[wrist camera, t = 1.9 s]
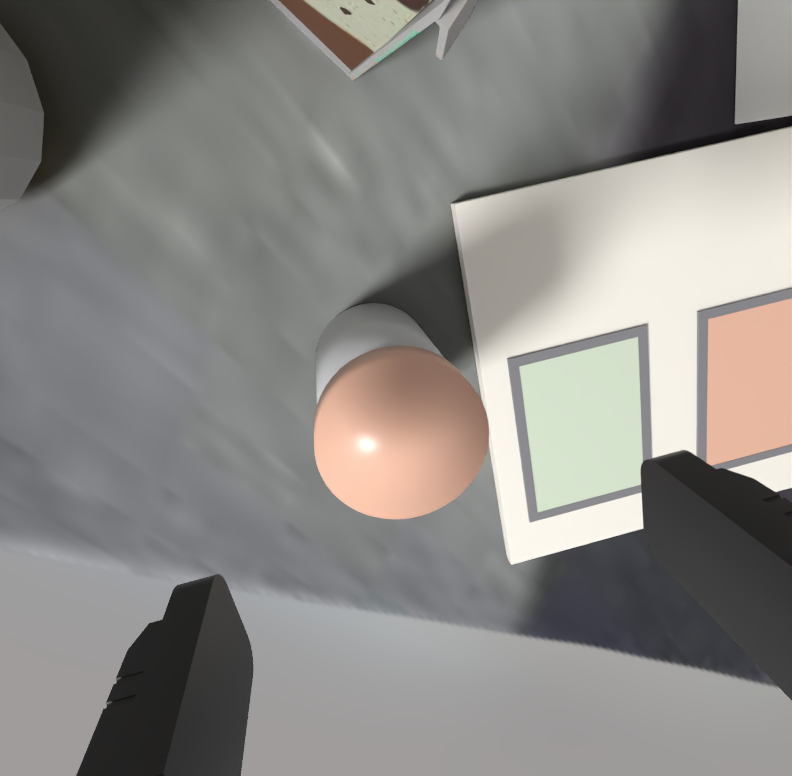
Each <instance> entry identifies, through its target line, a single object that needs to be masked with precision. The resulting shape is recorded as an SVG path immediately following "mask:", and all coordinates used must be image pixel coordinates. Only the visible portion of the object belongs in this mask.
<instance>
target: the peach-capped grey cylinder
mask: <svg viewBox="0 0 792 776" xmlns="http://www.w3.org/2000/svg"><path fill="white" fill-rule="evenodd" d="M316 383H317V407H316V412H315V418H314V450H315V458H316V463H317V466H318V469H319V472H320V474H321V476H322V478H323V480H324V482H325V484H326V485H327V486H328V488H329V489H330V490H331V491H332V493H333V494H334V495H335V496H336V497H337V498H338V499H339V500H341V501H342V502H343V503H345V504H346V505H348V506H349V507H351V508H353V509H355V510H356V511H359V512H361V513H364V514H366V515H370V516H373V517H377V518H385V519H406V518H413V517H417V516H421V515H424V514H428V513H431V512H433V511H435V510H437V509H439V508H441V507H443V506H445V505H446V504H448V503H450V502H451V501H452V500H454V499H455V498H456V497H458V496H459V495H460V494H461V493H462V492H463V491H464V490H465V489H466V488H467V487H468V486H469V485H470V483H471V482H472V481H473V480H474V478H475V477H476V475H477V474H478V472H479V470H480V468H481V466H482V464H483V462H484V459H485V456H486V453H487V448H488V443H489V423H488V418H487V413H486V410H485V408H484V405H483V402H482V401H481V399H480V397H479V395H478V394H477V392H476V391H475V390H474V388H473V387H472V386H471V384H470V383H469V382H468V381H467V380H466V378H465V377H464V376H463V375H462V374H461V372H460V371H459V370H458V369H457V368H456V367H455V366H454V365H453V364H452V363H451V362H449V361H448V360H446V359H445V358H444V357H443V356H442V354H441V353H440V352H439V351H438V349H437V348H436V347H435V345H434V344H433V343H432V342H431V340H430V339H429V338H428V337H427V335H426V334H425V333H424V332H423V330H422V329H421V328H420V327H419V325H418V324H417V323H416V322H415V320H414V319H413V318H411V317H410V316H409V315H408V314H407V313H405V312H404V311H402V310H400V309H398V308H396V307H393V306H391V305H387V304H381V303H366V304H360V305H357V306H354V307H351V308H349V309H347V310H345V311H343V312H342V313H340V314H339V315H337V316H336V317H335V318H334V319H333V320H332V321H331V322H330V323H329V324H328V325H327V327H326V328H325V330H324V331H323V333H322V335H321V337H320V340H319V342H318V346H317V351H316Z"/></svg>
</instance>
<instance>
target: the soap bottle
mask: <svg viewBox="0 0 792 776" xmlns="http://www.w3.org/2000/svg"><path fill="white" fill-rule="evenodd" d="M43 124H44V111H43V108H42V105H41V102H40V99H39V96H38V93H37V90H36V86H35V83H34V80H33V77H32V74H31V71H30V68H29V65H28V62H27V59H26V58H25V57H24V55H23V54H22V52H21V51H20V50H19V48H18V47H17V46H16V44H15V43H14V42H13V40H12V39H11V37H10V36H9V35H8V33H7V32H6V31H5V29H4V28H3V27H2V25H1V24H0V212H2V211H3V210H5V209H6V208H8V207H9V206H11V205H12V204H14V203H16V202H17V201H19V200H20V198H21V197H22V195H23V193H24V191H25V190H26V188H27V186H28V184H29V182H30V181H31V179H32V177H33V175H34V174H35V172H36V170H37V168H38V166H39V165H40V163H41V157H42V140H43Z"/></svg>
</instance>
